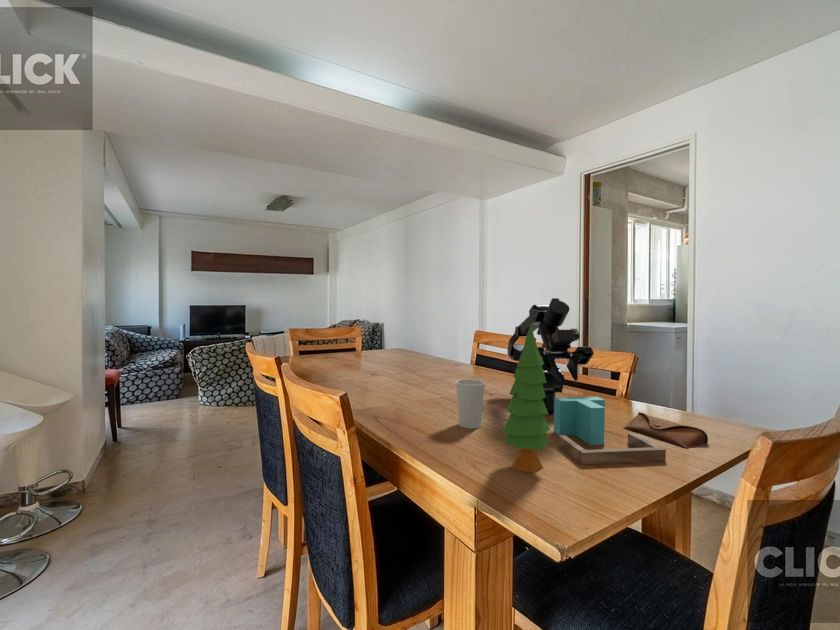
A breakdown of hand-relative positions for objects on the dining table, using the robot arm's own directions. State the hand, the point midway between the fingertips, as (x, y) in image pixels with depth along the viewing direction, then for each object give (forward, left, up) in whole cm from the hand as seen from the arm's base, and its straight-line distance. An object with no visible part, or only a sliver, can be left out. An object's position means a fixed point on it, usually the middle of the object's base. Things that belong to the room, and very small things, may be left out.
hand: (568, 380), depth 109 cm
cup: (+17, -21, -13) cm, 30 cm away
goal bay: (+14, +14, -13) cm, 24 cm away
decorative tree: (+33, +2, -13) cm, 35 cm away
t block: (+7, +7, -13) cm, 16 cm away
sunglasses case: (-8, +21, -13) cm, 26 cm away
